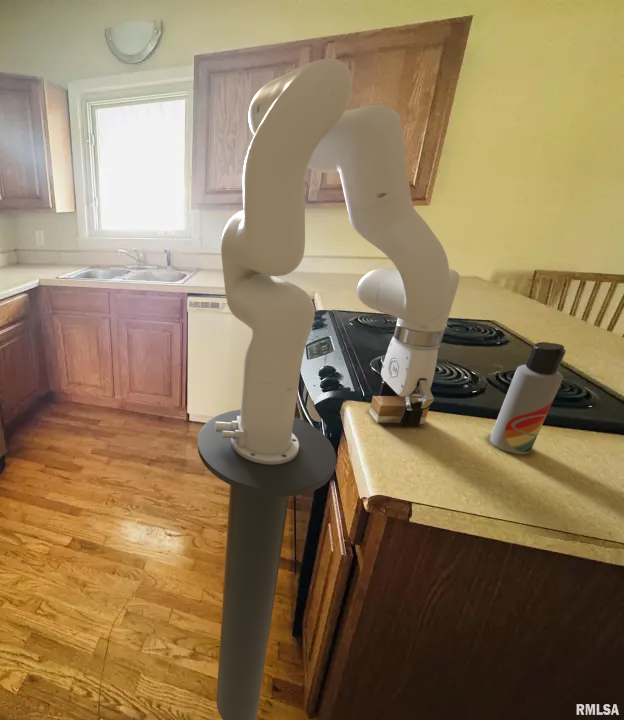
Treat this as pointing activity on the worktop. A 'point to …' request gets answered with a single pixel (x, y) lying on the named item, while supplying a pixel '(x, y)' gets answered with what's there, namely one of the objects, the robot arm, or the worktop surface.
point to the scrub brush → (391, 409)
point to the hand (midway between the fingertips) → (397, 412)
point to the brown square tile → (394, 425)
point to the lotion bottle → (529, 399)
